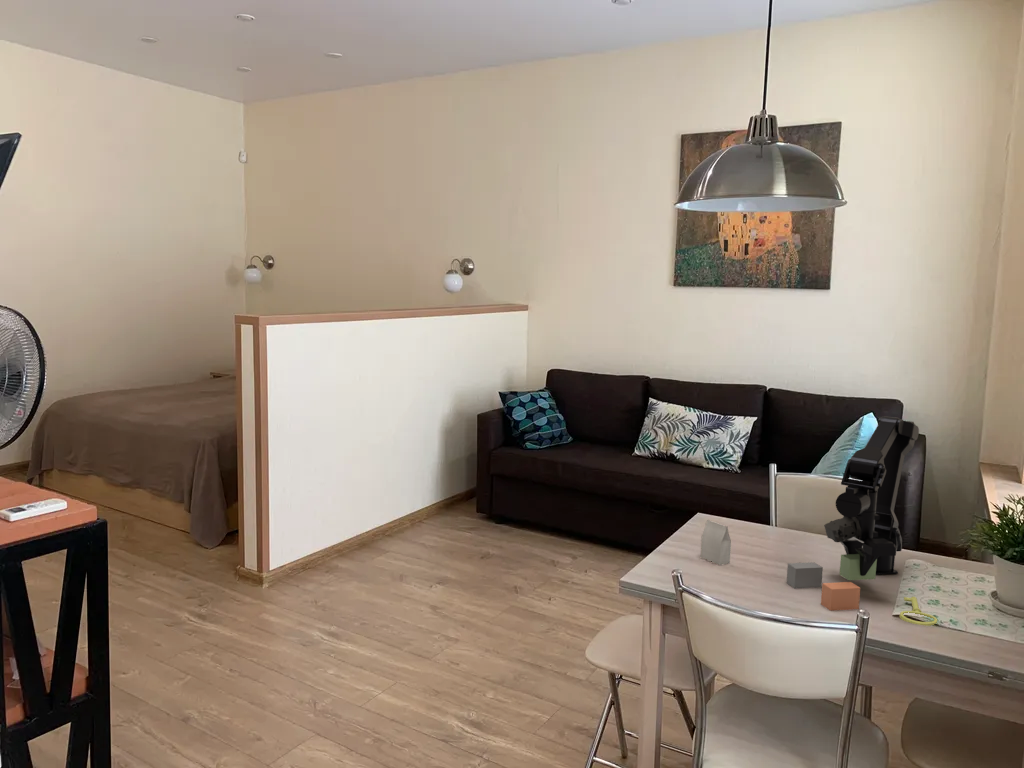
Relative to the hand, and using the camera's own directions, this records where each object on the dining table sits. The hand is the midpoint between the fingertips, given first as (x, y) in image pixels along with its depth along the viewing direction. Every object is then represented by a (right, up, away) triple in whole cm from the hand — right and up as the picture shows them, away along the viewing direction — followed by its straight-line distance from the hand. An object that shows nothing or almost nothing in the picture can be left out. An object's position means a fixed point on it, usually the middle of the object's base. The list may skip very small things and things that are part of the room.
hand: (857, 572), depth 183 cm
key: (+6, -6, -15) cm, 17 cm away
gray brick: (-12, -3, +1) cm, 13 cm away
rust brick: (-9, -5, -11) cm, 15 cm away
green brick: (0, -1, 0) cm, 1 cm away
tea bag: (-29, -1, +17) cm, 34 cm away
